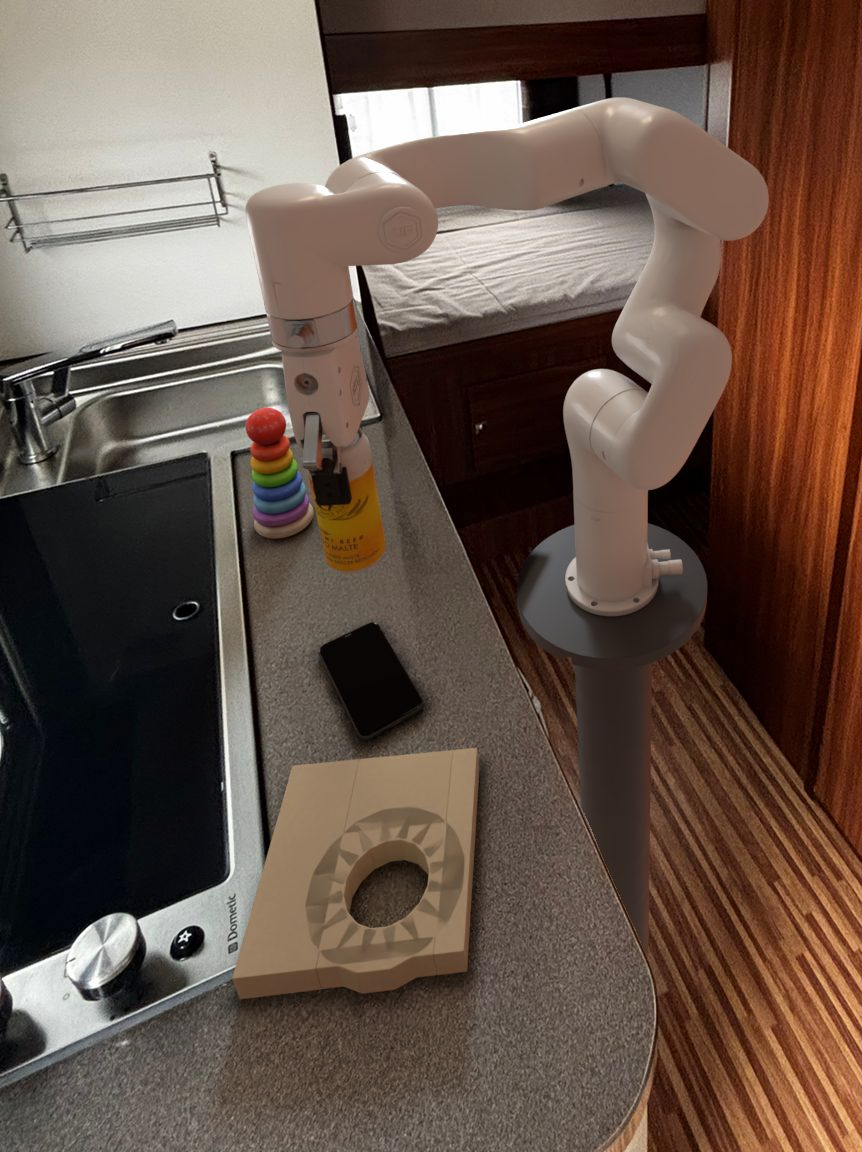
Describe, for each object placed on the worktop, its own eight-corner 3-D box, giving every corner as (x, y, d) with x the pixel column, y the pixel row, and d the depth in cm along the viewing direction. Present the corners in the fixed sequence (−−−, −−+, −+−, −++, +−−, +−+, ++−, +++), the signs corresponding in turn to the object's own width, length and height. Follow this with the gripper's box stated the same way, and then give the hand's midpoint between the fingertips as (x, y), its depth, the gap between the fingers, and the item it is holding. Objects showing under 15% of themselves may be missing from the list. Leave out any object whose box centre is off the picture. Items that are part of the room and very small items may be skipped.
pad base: (479, 767, 83) (477, 747, 82) (466, 981, 66) (463, 960, 65) (297, 785, 81) (292, 765, 80) (236, 1009, 64) (228, 988, 63)
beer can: (314, 570, 84) (288, 450, 78) (349, 532, 89) (327, 416, 83) (365, 583, 82) (343, 461, 76) (397, 543, 88) (379, 426, 81)
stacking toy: (312, 536, 115) (288, 424, 107) (251, 546, 113) (222, 432, 105) (317, 501, 122) (295, 393, 114) (260, 510, 120) (233, 401, 112)
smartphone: (427, 709, 89) (377, 623, 100) (427, 703, 89) (376, 618, 100) (361, 746, 85) (316, 652, 96) (360, 740, 85) (315, 647, 96)
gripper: (331, 365, 67) (363, 537, 74) (374, 281, 82) (396, 431, 90) (237, 369, 66) (278, 542, 74) (298, 284, 82) (327, 434, 89)
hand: (343, 479), depth 82 cm, fingers closed on beer can, 6 cm apart
